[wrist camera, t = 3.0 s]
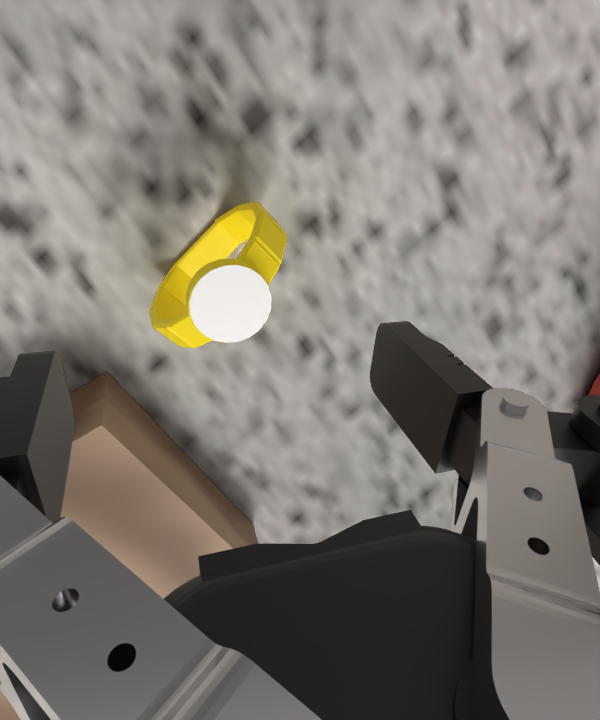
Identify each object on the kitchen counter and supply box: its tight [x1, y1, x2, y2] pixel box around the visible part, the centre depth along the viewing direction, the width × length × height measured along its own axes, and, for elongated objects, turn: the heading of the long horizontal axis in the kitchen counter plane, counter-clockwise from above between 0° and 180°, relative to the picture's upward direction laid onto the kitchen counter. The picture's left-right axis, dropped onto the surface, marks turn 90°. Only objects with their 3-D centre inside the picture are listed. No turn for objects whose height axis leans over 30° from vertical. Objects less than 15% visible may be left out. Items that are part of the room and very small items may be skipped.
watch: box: [150, 202, 287, 348], centre depth 17 cm, size 6×3×6 cm, turn 131°
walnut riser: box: [0, 372, 258, 720], centre depth 24 cm, size 18×14×4 cm
